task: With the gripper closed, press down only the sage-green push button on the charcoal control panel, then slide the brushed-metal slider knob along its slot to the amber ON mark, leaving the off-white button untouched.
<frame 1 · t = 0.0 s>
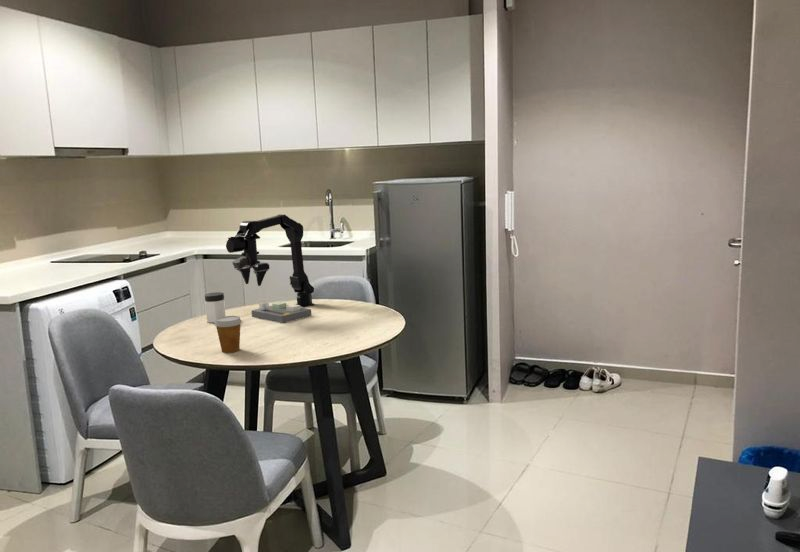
hand: (253, 284, 290), 15 cm above the table, fingers open, 9 cm apart
sage button: (279, 306, 297), point 4 cm above the table, slide at 0.0 cm
offwhite button: (293, 308, 290), point 4 cm above the table, slide at 0.0 cm
control panel: (281, 316, 292), on the table
jar: (216, 321, 289), on the table
disposable coffee cup: (230, 350, 240), on the table
slider knob: (264, 305, 291), point 5 cm above the table, slide at -6.0 cm
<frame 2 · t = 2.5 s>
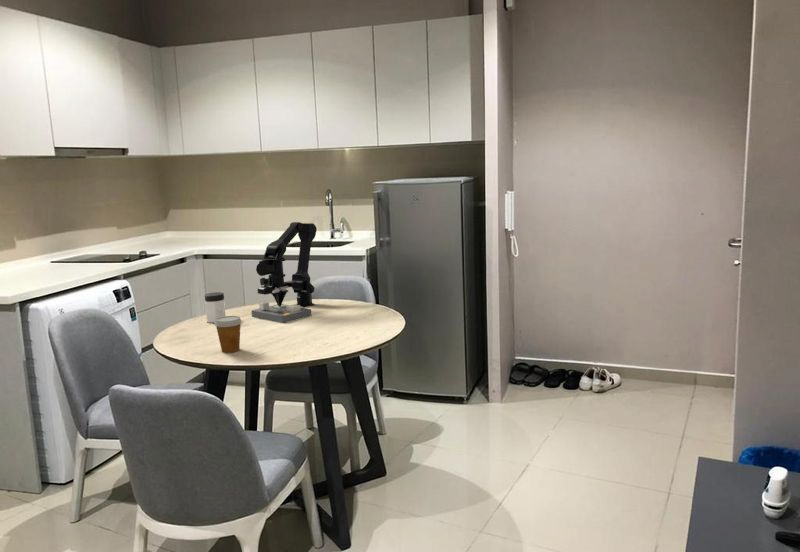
hand: (279, 306, 297), 3 cm above the table, fingers closed, pressing on sage button
sage button: (279, 308, 297), point 2 cm above the table, slide at 1.3 cm, touching control panel, gripper
everything else where it was.
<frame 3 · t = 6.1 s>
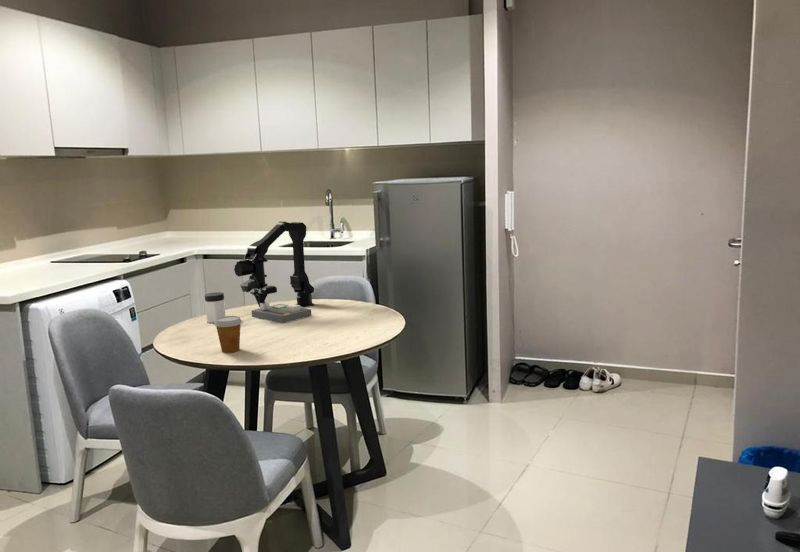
hand: (260, 307, 293), 4 cm above the table, fingers closed
sage button: (279, 308, 297), point 2 cm above the table, slide at 1.3 cm, touching control panel
slider knob: (264, 305, 291), point 5 cm above the table, slide at -5.6 cm, touching gripper
everything else where it was.
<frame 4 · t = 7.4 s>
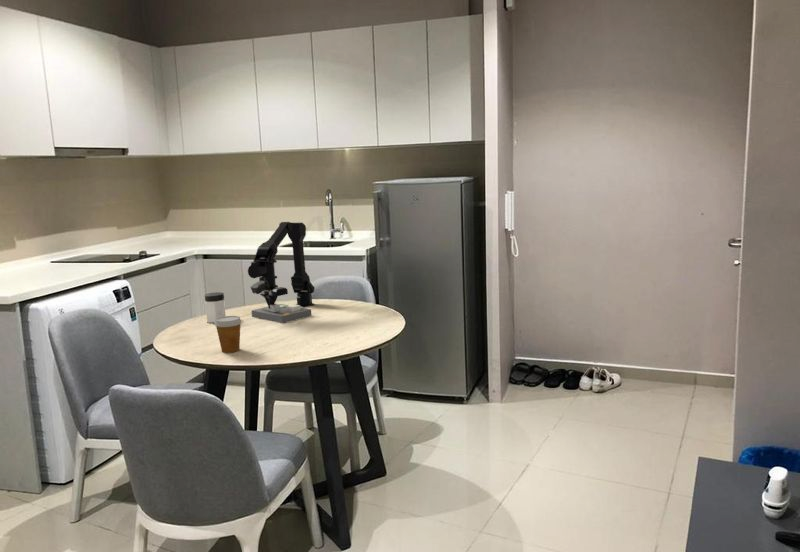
hand: (271, 309, 288), 4 cm above the table, fingers closed
slider knob: (275, 307, 286), point 5 cm above the table, slide at 1.9 cm, touching gripper
everything else where it was.
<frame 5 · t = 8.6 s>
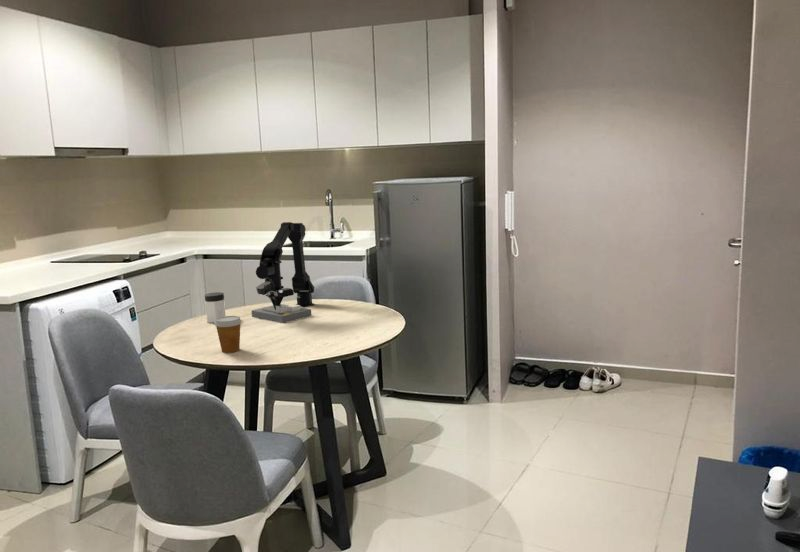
hand: (276, 310, 286), 4 cm above the table, fingers closed
slider knob: (280, 308, 284), point 5 cm above the table, slide at 6.0 cm, touching gripper
everything else where it was.
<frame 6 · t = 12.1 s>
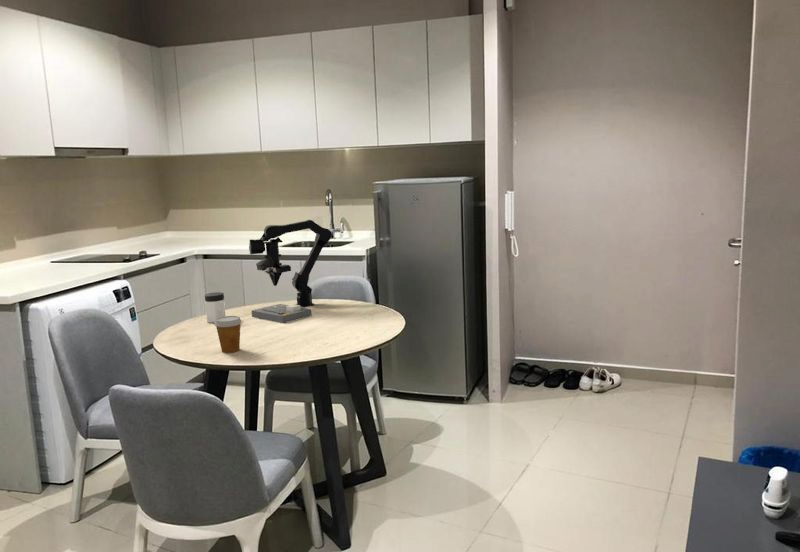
hand: (275, 285, 306), 11 cm above the table, fingers closed
slider knob: (281, 308, 283), point 5 cm above the table, slide at 6.0 cm
everything else where it was.
at the end: sage button slide at 1.3 cm; offwhite button slide at 0.0 cm; slider knob slide at 6.0 cm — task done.
